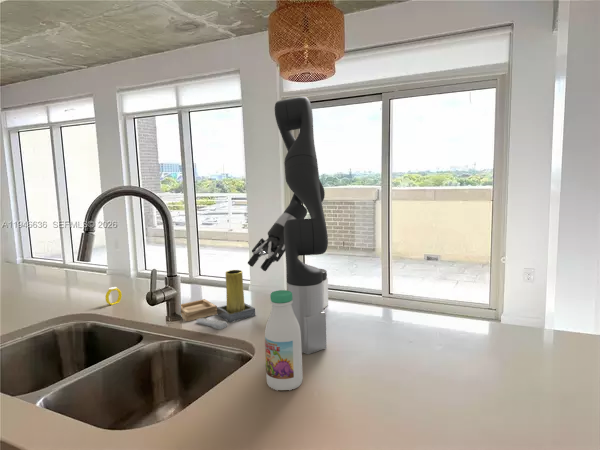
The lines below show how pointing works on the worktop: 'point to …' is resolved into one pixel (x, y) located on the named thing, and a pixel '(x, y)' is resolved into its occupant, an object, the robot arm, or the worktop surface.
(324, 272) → the jar
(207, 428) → the worktop surface
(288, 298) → the milk bottle
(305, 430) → the worktop surface
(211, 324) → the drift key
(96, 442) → the worktop surface
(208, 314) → the wooden tray
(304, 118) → the robot arm
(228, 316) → the grey square shallow tray
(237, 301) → the vase
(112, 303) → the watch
